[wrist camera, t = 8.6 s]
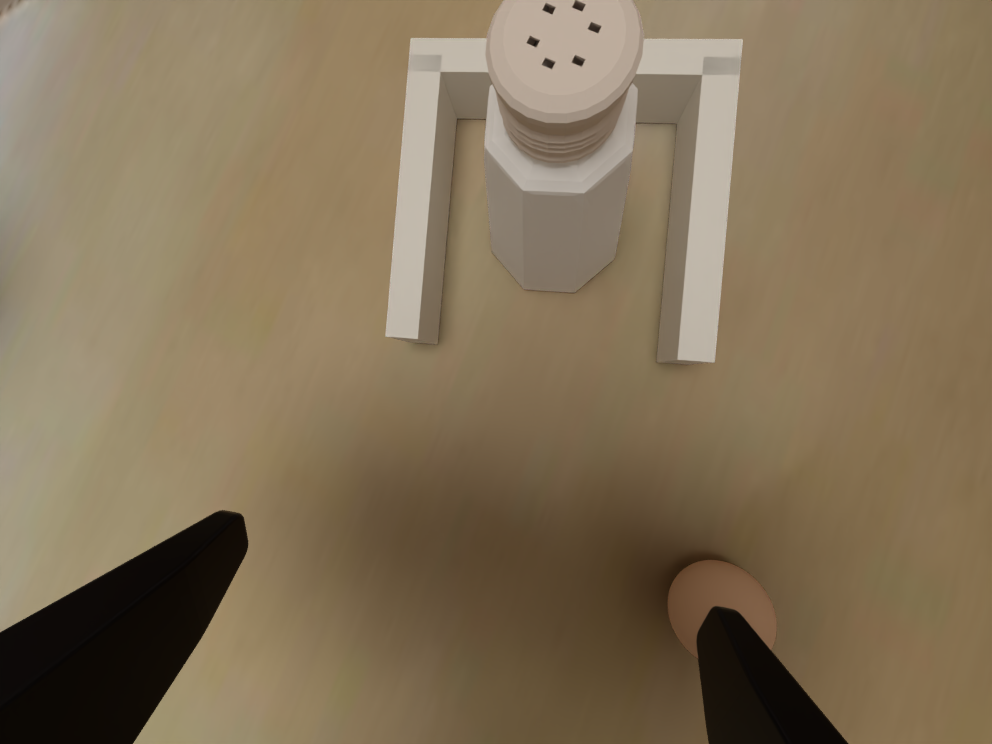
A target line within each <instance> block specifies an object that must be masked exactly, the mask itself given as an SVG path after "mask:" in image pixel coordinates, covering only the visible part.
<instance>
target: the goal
mask: <svg viewBox="0 0 992 744" xmlns="http://www.w3.org/2000/svg"><path fill="white" fill-rule="evenodd" d="M486 41H487V38H411V42H410V53H409V65H408V77H407V89H406V101H405V112H404V124H403V136H402V148H401V160H400V171H399V183H398V195H397V207H396V219H395V230H394V242H393V254H392V266H391V278H390V289H389V301H388V313H387V325H386V337H390V338H394V339H398V340H402V341H407V342H412V343H424V344H437V345H438V336H439V324H440V312H441V300H442V289H443V277H444V265H445V253H446V242H447V230H448V218H449V206H450V195H451V183H452V171H453V159H454V148H455V136H456V124H457V118H458V119H486V116H487V105H488V95H489V88H490V86H491V85H492V82H491V80H490V77H489V72H488V67H487V61H486V56H485V53H486ZM742 43H743V39H644V42H643V54H642V58H641V61H640V64H639V66H638V69H637V72H636V75H635V77H634V80H633V82H632V83H633V84H634V85H635V86H636V87H637V89H638V103H637V115H636V123H674V124H677V130H676V141H675V153H674V164H673V176H672V188H671V199H670V211H669V222H668V234H667V245H666V257H665V268H664V280H663V291H662V303H661V314H660V326H659V337H658V349H657V361H656V362H661V363H673V364H686V365H689V364H703V363H715V353H716V342H717V330H718V319H719V307H720V296H721V285H722V273H723V262H724V250H725V239H726V227H727V216H728V204H729V193H730V181H731V170H732V158H733V147H734V135H735V124H736V112H737V101H738V89H739V78H740V66H741V55H742Z"/></svg>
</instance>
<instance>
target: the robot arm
mask: <svg viewBox="0 0 992 744" xmlns="http://www.w3.org/2000/svg"><path fill="white" fill-rule="evenodd" d="M247 549H248V538H247V532H246V527H245V521H244V517H243V516H242V515H241V514H240V513H236V512H231V511H225V510H221V511H218V512H215V513H213V514H212V515H210V516H208V517H206V518H204V519H203V520H201V521H199V522H197V523H195V524H194V525H192V526H190V527H188V528H186V529H185V530H183V531H181V532H179V533H177V534H176V535H174V536H172V537H170V538H169V539H167V540H165V541H163V542H161V543H160V544H158V545H156V546H154V547H152V548H151V549H149V550H147V551H145V552H143V553H142V554H140V555H138V556H136V557H134V558H133V559H131V560H129V561H127V562H125V563H124V564H122V565H120V566H118V567H116V568H115V569H113V570H111V571H109V572H108V573H106V574H104V575H102V576H100V577H99V578H97V579H95V580H93V581H91V582H90V583H88V584H86V585H84V586H82V587H81V588H79V589H77V590H75V591H73V592H72V593H70V594H68V595H66V596H64V597H63V598H61V599H59V600H57V601H56V602H54V603H52V604H50V605H48V606H47V607H45V608H43V609H41V610H39V611H38V612H36V613H34V614H32V615H30V616H29V617H27V618H25V619H23V620H21V621H20V622H18V623H16V624H14V625H12V626H11V627H9V628H7V629H5V630H4V631H2V632H0V744H133V743H134V741H135V740H136V738H137V737H138V735H139V734H140V732H141V730H142V729H143V727H144V726H145V724H146V723H147V721H148V720H149V718H150V717H151V715H152V713H153V712H154V710H155V709H156V707H157V706H158V704H159V703H160V701H161V700H162V698H163V697H164V695H165V693H166V692H167V690H168V689H169V687H170V686H171V684H172V683H173V681H174V680H175V678H176V676H177V675H178V673H179V672H180V670H181V669H182V667H183V666H184V664H185V663H186V661H187V660H188V658H189V656H190V655H191V653H192V652H193V650H194V649H195V647H196V646H197V644H198V642H199V641H200V639H201V638H202V636H203V634H204V633H205V631H206V629H207V627H208V625H209V624H210V622H211V620H212V618H213V616H214V614H215V612H216V610H217V608H218V607H219V605H220V603H221V601H222V599H223V597H224V595H225V593H226V591H227V589H228V587H229V586H230V584H231V582H232V580H233V578H234V576H235V574H236V572H237V570H238V568H239V566H240V565H241V563H242V561H243V559H244V557H245V555H246V552H247ZM696 644H697V653H698V662H699V670H700V679H701V687H702V696H703V704H704V712H705V721H706V728H707V735H708V741H709V744H848V743H847V741H846V740H845V739H844V738H843V737H842V735H841V734H840V733H839V732H838V731H837V729H836V728H835V727H834V726H833V725H832V723H831V722H830V721H829V720H828V718H827V717H826V716H825V715H824V714H823V712H822V711H821V710H820V709H819V708H818V706H817V705H816V704H815V703H814V702H813V700H812V699H811V698H810V697H809V696H808V694H807V693H806V692H805V691H804V689H803V688H802V687H801V686H800V685H799V683H798V682H797V681H796V680H795V679H794V677H793V676H792V675H791V674H790V673H789V671H788V670H787V669H786V668H785V667H784V665H783V664H782V663H781V662H780V661H779V659H778V658H777V657H776V656H775V654H774V653H773V652H772V651H771V650H770V648H769V647H768V646H767V645H766V644H765V642H764V641H763V640H762V639H761V638H760V636H759V635H758V634H757V633H756V632H755V630H754V629H753V628H752V627H751V625H750V624H749V623H748V622H747V621H746V619H745V618H744V617H743V616H742V615H741V614H740V613H739V612H738V611H736V610H734V609H731V608H726V607H720V606H714V607H712V608H711V609H710V611H709V613H708V614H707V616H706V618H705V620H704V621H703V623H702V625H701V627H700V628H699V630H698V633H697V639H696Z"/></svg>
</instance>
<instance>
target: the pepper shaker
mask: <svg viewBox="0 0 992 744" xmlns="http://www.w3.org/2000/svg"><path fill="white" fill-rule="evenodd" d="M643 42H644V31H643V26H642V21H641V15H640V13H639V11H638V9H637V7H636V5H635V3H634V1H633V0H503V2H502V3H501V5H500V6H499V8H498V10H497V11H496V13H495V14H494V16H493V19H492V22H491V25H490V28H489V30H488V33H487V41H486V53H485V56H486V61H487V67H488V72H489V77H490V80H491V82H492V85H491V86H490V88H489V95H488V105H487V116H486V128H485V149H484V166H485V178H486V189H487V201H488V213H489V225H490V237H491V248H492V253H493V254H494V255H495V256H496V257H497V259H498V260H499V261H500V262H501V263H502V264H503V266H504V267H505V268H506V269H507V270H508V271H509V273H510V274H511V275H512V276H513V277H514V278H515V280H516V281H517V282H518V283H519V284H520V285H521V287H522V288H523V289H524V290H539V291H554V292H570V293H575V292H576V291H578V290H579V289H580V288H581V287H582V286H583V285H585V284H586V283H587V282H588V281H589V280H591V279H592V278H593V277H594V276H595V275H596V274H598V273H599V272H600V271H601V270H602V269H604V268H605V267H606V266H607V265H608V264H609V263H611V262H612V261H613V260H614V259H615V255H616V249H617V244H618V238H619V233H620V227H621V222H622V216H623V210H624V205H625V199H626V194H627V188H628V183H629V177H630V171H631V163H632V152H633V146H634V137H635V126H636V115H637V103H638V89H637V87H636V86H635V85H634V84H633V83H632V82H633V80H634V77H635V75H636V72H637V69H638V66H639V64H640V61H641V58H642V54H643Z"/></svg>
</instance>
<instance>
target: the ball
mask: <svg viewBox="0 0 992 744" xmlns="http://www.w3.org/2000/svg"><path fill="white" fill-rule="evenodd" d="M714 606H720V607H726V608H731V609H734V610H736V611H738V612H739V613H740V614H741V615H742V616H743V617H744V618H745V619H746V621H747V622H748V623H749V624H750V625H751V627H752V628H753V629H754V630H755V632H756V633H757V634H758V635H759V636H760V638H761V639H762V640H763V641H764V642H765V644H766V645H767V646H768V647H769V648H770V650H771V649H772V647H773V645H774V643H775V639H776V633H777V620H776V614H775V611H774V607H773V605H772V602H771V600H770V598H769V596H768V595H767V593H766V591H765V590H764V589H763V587H762V586H761V585H760V584H759V582H758V581H757V580H756V579H755V578H754V577H752V576H751V575H750V574H749V573H747V572H746V571H745V570H743V569H741V568H739V567H738V566H735V565H733V564H731V563H728V562H724V561H718V560H703V561H699V562H696V563H693V564H691V565H689V566H687V567H686V568H684V569H683V570H682V571H681V572H680V573H679V574H678V575H677V576H676V577H675V579H674V581H673V582H672V585H671V587H670V590H669V594H668V614H669V619H670V622H671V625H672V627H673V630H674V632H675V634H676V635H677V637H678V639H679V640H680V642H681V643H682V644H683V646H684V647H685V648H686V649H687V650H688V651H689V652H690V653H691V654H692V655H693V656H695V657H696V658H697V659H698V653H697V644H696V639H697V633H698V630H699V628H700V627H701V625H702V623H703V621H704V620H705V618H706V616H707V614H708V613H709V611H710V609H711V608H712V607H714Z"/></svg>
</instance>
